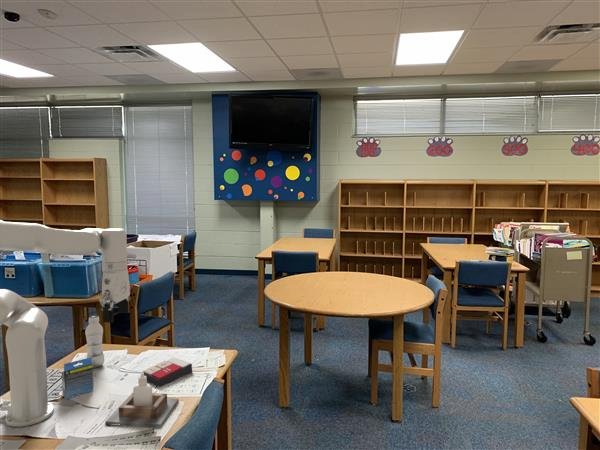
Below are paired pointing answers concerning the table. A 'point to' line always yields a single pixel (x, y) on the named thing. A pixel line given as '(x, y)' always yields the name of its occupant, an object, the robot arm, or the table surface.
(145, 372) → the red and grey box
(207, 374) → the table surface
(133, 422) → the stand
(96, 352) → the plastic bottle
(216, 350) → the table surface
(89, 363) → the label tape cartridge
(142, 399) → the eye dropper bottle
